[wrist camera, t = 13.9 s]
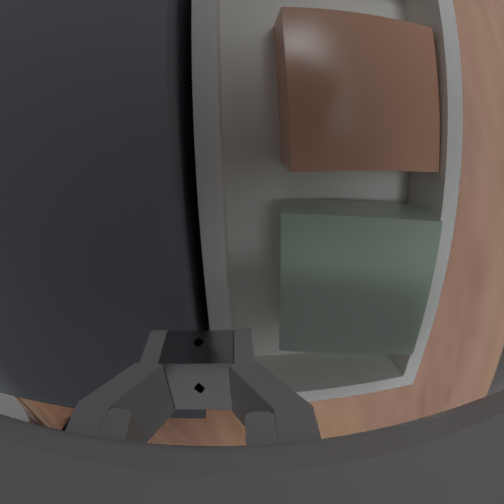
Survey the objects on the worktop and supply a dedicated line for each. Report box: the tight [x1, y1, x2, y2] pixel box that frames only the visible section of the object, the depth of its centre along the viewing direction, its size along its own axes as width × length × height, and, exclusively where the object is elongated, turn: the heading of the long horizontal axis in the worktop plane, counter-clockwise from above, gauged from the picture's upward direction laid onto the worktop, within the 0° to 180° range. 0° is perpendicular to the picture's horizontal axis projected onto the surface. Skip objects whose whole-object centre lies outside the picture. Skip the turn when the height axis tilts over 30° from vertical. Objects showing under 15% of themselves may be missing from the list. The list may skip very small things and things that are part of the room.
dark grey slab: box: [0, 0, 209, 418], centre depth 11 cm, size 18×12×5 cm, turn 2°
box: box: [191, 0, 463, 402], centre depth 12 cm, size 20×10×4 cm, turn 2°
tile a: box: [273, 7, 440, 172], centre depth 11 cm, size 6×6×2 cm
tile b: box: [279, 198, 443, 354], centre depth 13 cm, size 6×6×2 cm
